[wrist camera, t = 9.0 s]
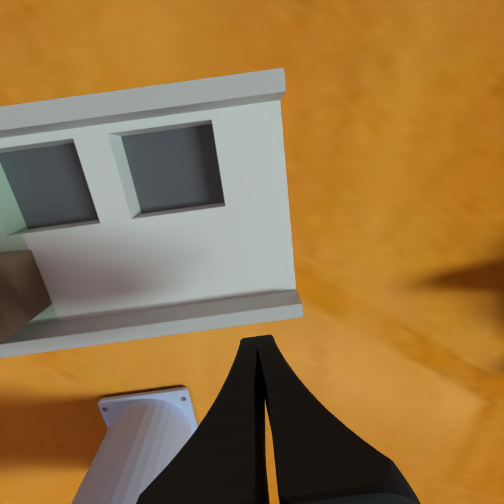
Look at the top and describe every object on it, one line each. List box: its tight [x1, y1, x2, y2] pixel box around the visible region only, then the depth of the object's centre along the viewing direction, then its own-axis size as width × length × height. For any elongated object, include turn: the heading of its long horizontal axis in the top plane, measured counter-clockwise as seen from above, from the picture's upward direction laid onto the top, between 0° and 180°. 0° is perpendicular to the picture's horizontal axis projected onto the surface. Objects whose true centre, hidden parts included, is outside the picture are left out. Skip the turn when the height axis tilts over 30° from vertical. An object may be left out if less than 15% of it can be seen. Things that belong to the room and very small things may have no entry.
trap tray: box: [0, 68, 303, 358], centre depth 17 cm, size 14×22×4 cm, turn 97°
